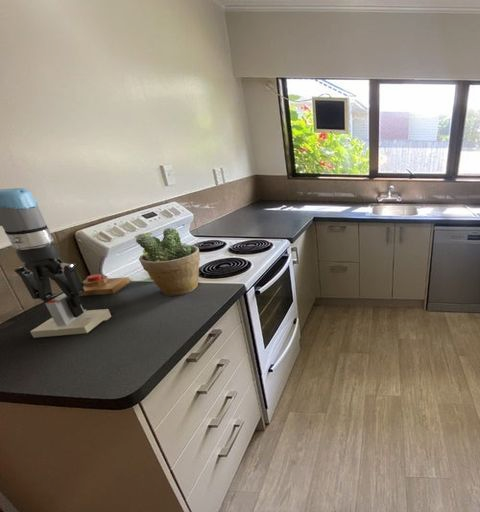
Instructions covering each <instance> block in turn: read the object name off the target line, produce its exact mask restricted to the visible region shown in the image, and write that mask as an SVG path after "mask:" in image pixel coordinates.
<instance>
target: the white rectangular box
mask: <svg viewBox="0 0 480 512" xmlns="http://www.w3.org/2000/svg"><path fill="white" fill-rule="evenodd" d="M66 298H68V297H67V296H66V295H65V293H64V292H63V293H60V294H59V295H57V297H56V298H54V299H52V300H51V301H48V302H46V303H44V305H45V304H46V305H45V307H46V306H47V307H46V309H47V310H48V312H49V314H50V316H51V318H53V320H54V321H55V323H56V325H57V326H67V325H68V324H70V323H71V322H72V321H74V320H75V319H77V318H78V317H80V316H81V315H82V314H81V315H80V316H78V317H77V318H74V316H73V314H72V312H71V310H70V308H69V306H68V304H67V302H66V300H65V299H66ZM81 307H82V310H83V312H84V310H85V309H84V308H83V306H82V305H81ZM84 313H85V312H84ZM84 313H83V314H84Z"/></svg>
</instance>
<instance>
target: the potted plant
mask: <svg viewBox="0 0 480 512" xmlns="http://www.w3.org/2000/svg"><path fill="white" fill-rule="evenodd" d="M162 233H163V235H162V236H163V238H162V239H160V238H158V237H156V236H153V235H150V236H149V235H148V234H143V233H139V234H140V235H139V234H138V235H139V236H138V237H137V238H135V243H137V244H138V245H139V246H140V247H141V248H142V249H143V250H145V252H147V253H145V254H143V253H142V254H141V255H140V256H139V258H138V261H139V262H140V264H141V266H142V268H143V270H144V271H146V272H147V274H148V276H149V278H150V279H151V280H152V281H153V282H154V284H155V285H156V286H157V287H158V288H159V290H160V291H161V292H162V293H163V295H165V296H166V297H167V296H168V297H176V296H177V297H178V296H182V295H185V294H189V293H191V292H193V291H194V290H195V289H197V288H198V285H199V273H200V270H199V269H200V260H201V257H200V248H199V247H198V246H196V245H193V244H187V243H186V242H185V243H182V241H181V240H182V239H181V237H180V234H179V231H178V230H177V228H174V227H167V228H164V230H163V232H162Z"/></svg>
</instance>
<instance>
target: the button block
mask: <svg viewBox="0 0 480 512" xmlns="http://www.w3.org/2000/svg"><path fill="white" fill-rule="evenodd" d="M101 277H102V279H100V280H98V281H93V282H88V280H87V278H85V279H84V280H83V281H82V285H83V288H84V292H83V293H82V294H80V295H78V296H79V297H85V296H99V295H100V296H101V295H113V294H115V293H117V292H118V291H120V290H121V289H123V288H124V287H125V286H127V285H128V284H130V283H131V280H130V277H129V276H127V277H110V278H109V277H108V276H107V275H105V274H103V275H102V274H101Z"/></svg>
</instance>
